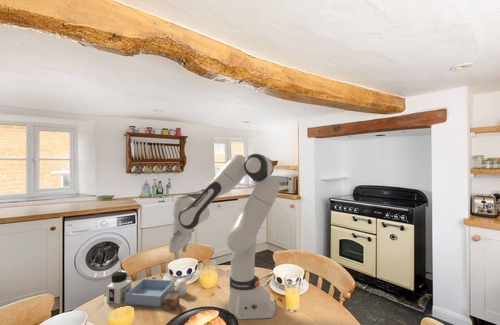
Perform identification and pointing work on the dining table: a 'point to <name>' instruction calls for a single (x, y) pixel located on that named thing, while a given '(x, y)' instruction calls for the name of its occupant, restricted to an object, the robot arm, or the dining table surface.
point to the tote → (149, 292)
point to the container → (118, 287)
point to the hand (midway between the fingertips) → (180, 255)
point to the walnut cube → (171, 301)
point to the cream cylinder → (181, 287)
